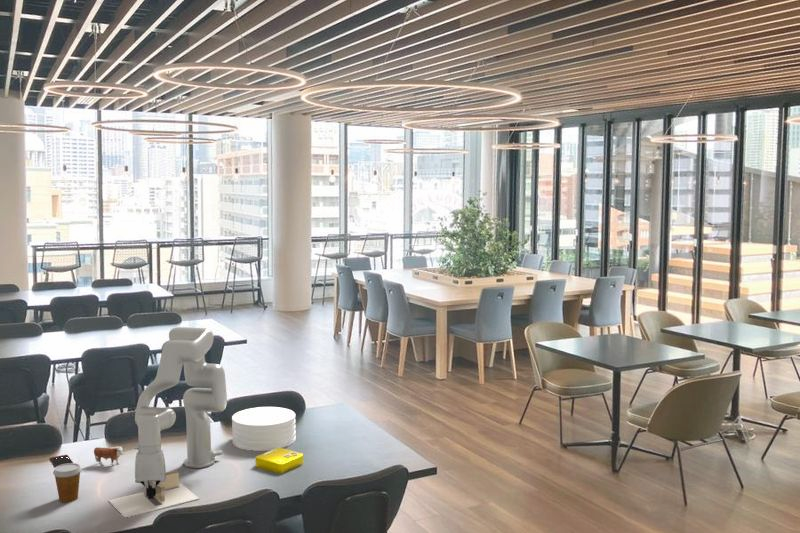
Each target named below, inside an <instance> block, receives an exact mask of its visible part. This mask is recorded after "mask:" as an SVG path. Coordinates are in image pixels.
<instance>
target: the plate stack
mask: <svg viewBox="0 0 800 533" xmlns="http://www.w3.org/2000/svg"><path fill="white" fill-rule="evenodd" d="M231 422H232V423H231V430H232V435H231V436H232V445H233V444H234V445H233V446H234V447H236V448H238V449H240V450H244V449H245V450H244V451H251V450H253V451H256V452H263V451H264V452H268V451H270V450H273V449H275V448H283V449H285V448H286V446H287V447H288V446H291V445H293V444H294V443H295V442H296V439H297V437H296V434H297V433H296V429H297V428H296V426H297V425H296V423H297V422H296V413H295V411H293V410H292V409H289V408H285V407H280V406H279V407H278V406H257V407H250V408H245V409H243V410H239V411H237V412H235V413H234V414H233V415H232V416H231ZM294 441H295V442H294ZM292 443H293V444H292ZM253 451H252V452H253Z"/></svg>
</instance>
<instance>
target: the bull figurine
mask: <svg viewBox="0 0 800 533" xmlns="http://www.w3.org/2000/svg"><path fill="white" fill-rule="evenodd" d="M124 448H125V446H114V447H94V449H93V454H94V458H95V461H96V463H99V465H100V467H103V466H104V463H103V462H102V459H104V460H106V461H107V460H108V459H111V463H110V466H111V465H112V466H111V467H114V466H115V465H114V462H115V461H116V463H117V465H120V464H119V463H120V462H119V458H120V456H122V455H124V454H125V453H124V451H123V449H124ZM102 465H103V466H102ZM113 465H114V466H113Z"/></svg>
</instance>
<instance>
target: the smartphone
mask: <svg viewBox="0 0 800 533" xmlns="http://www.w3.org/2000/svg"><path fill="white" fill-rule="evenodd" d="M61 457H63V458H61ZM66 457H68V458H69V459H68V458H66ZM56 458H57V459H56ZM49 460H50V462H51V464H52V465H53V466H55V467H57V466H59V465H62V464H67V463H74V462H73V460H72V459H71V458H70V456H69V455H68V454H62V455H57V456H51V457H49ZM55 467H54V468H55Z"/></svg>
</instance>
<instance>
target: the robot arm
mask: <svg viewBox="0 0 800 533" xmlns="http://www.w3.org/2000/svg"><path fill="white" fill-rule="evenodd" d="M168 338H169V340H168V341H166V342H165V343H164V345H163V347H162V350H161V355H160V360H159V364H158V368H157V372H156V376H155V378H154V380H152V382H150V383H149V384H148V385H147V386H146V387H145V388H144V390H143V391H142V392H141V394H140V395H139V397H138V401H137V405H136V407H135V413H134V421H135V425H137V431H138V432H137V435H138V436H137V437H138V438H137V439H138V440H137V441H138V444H136V445H134V446H133V447H134V450H137V452H136V455H135V459H134V460H135V461H134V479H135V481H134V482H135V483H137V484H141V485H143V487H144V486H145V488H146V494H147V496H148V499H153V498H154V496H155V495H156V486H157V485H158V484H159V483H160V482H164V481H166V476H165V474H166V473H167V471H166V470H167V469H166V462H165V461H166V460H165V455H164V451H163V449H162V447H161V446H162V445H161V444H162V443H161V431H164V430H167V429H169V428H172V426H173V425H174V424H175V422H176V418H177V414H176V412H175V411H174V409H172V408H170V407H161V406H160V407H159V406H150V404H151V402H152V400H153V399H154V398H155V397H156V396H157V395H158V394H159V393H161V392H163V391H165V390H168V389H171V388H173V387H175V386H177V385H178V384H179V383H180V379H181V373H182V369H183V372H184V373H183V375H184V379H185V383H186V384H187V385H188V386H190V387H191V388H188V389H186V390H185V392H184V393H183V396H182V400H183V401H182V403H183V406H184V411H185V419H186V422H185V424H186V426H185V427H186V452H187V453H186V455H187V456H186V457H187V458H185V459H184V460H183V465H184V466H185V467H186V468H191V469H201V468H207V467H210V466H213V464H215V462H216V458H215V457H217V456H221V455H223V450H217V449H213V450H212V445H211V444H212V438H211V435H212V434H211V420H210V417H209V414H208V413H221V412H223V411H225V409H226V407H227V403H228V394H227V383H226V373H225V369H224V367H223V366H222V365H220V364H218V363H208V362H206V358H205V355H206V354H207V353H208V352H209V350H210V349H211V348H212V346H213V343H214V332H212V330H211V329H210V328H204V327H185V326H184V327H183V326H182V327H180V326H179V327H174V328H171V329H170V331H169V333H168ZM150 481H153V482H152V486H151V485H150Z"/></svg>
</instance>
